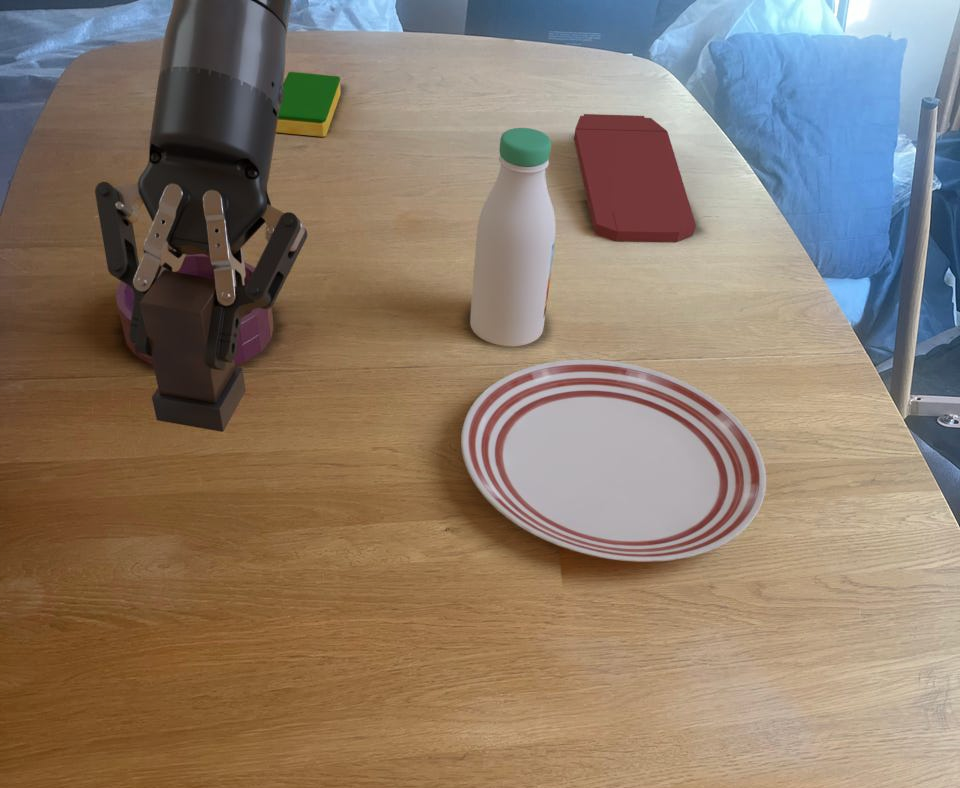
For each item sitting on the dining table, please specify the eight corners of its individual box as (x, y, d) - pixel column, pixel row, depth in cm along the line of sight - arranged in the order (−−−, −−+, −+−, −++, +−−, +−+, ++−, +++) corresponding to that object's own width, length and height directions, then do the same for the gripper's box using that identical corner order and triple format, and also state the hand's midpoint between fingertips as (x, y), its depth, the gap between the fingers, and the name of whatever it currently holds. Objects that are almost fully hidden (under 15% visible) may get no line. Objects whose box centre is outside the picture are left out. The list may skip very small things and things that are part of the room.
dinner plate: (704, 378, 102) (712, 350, 99) (803, 571, 85) (816, 544, 82) (438, 390, 97) (440, 361, 95) (487, 597, 80) (491, 569, 78)
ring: (111, 375, 95) (100, 329, 91) (143, 293, 104) (134, 248, 101) (263, 383, 96) (258, 338, 92) (281, 301, 105) (277, 257, 101)
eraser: (156, 420, 69) (130, 304, 62) (181, 380, 72) (159, 265, 65) (223, 432, 69) (205, 317, 62) (246, 391, 72) (230, 277, 65)
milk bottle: (537, 358, 102) (563, 162, 86) (463, 346, 102) (476, 149, 87) (547, 317, 107) (573, 125, 91) (476, 306, 107) (491, 112, 92)
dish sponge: (341, 94, 139) (340, 75, 137) (325, 138, 130) (324, 118, 128) (290, 89, 139) (288, 70, 137) (271, 133, 130) (269, 113, 128)
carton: (687, 267, 122) (652, 143, 135) (698, 232, 118) (660, 108, 131) (591, 265, 121) (564, 141, 133) (598, 231, 117) (570, 105, 129)
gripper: (86, 45, 60) (47, 331, 62) (314, 80, 59) (269, 369, 61) (137, 101, 68) (102, 355, 69) (341, 133, 67) (300, 389, 68)
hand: (181, 360), depth 65 cm, fingers closed on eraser, 4 cm apart
